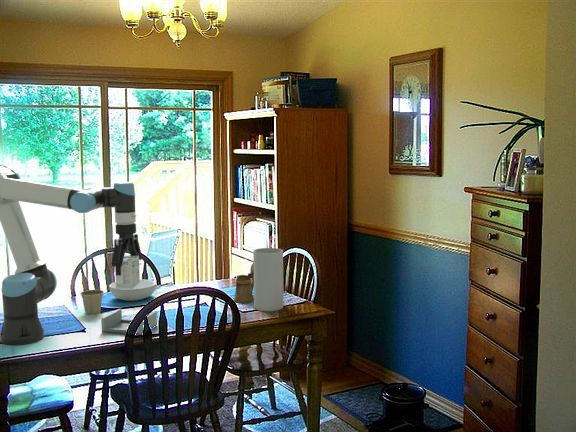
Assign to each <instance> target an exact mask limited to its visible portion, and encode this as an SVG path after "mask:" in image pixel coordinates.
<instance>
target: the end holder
mask: <svg viewBox="0 0 576 432" xmlns="http://www.w3.org/2000/svg"><path fill="white" fill-rule="evenodd" d="M122 311H123V310H122V308H118V309H115V310H114V311H112V312H110V313H107V314H106V315H104V316H102V317H101V318H100V321H101V322H100V323H101V334H112V335H122V336H123V335H124V336H126V335H125V333H126V331H127V327H128V326H129V324H130V322H131V321H132V320H133V319H129V318H127V319H125V318H123V317H122V316H123V315H122V313H123V312H122ZM148 314H149V315H148ZM148 314H147V315H148V322H149V325H150V327H151V328H153V327H154V326H156V325H157V326H158V317H157V314H158V313H157V311H151V312H150V313H148ZM143 325H144V322H143V321H142V323H141V325H140V326H139V328H138V330H137V333H136V335H142V333H143ZM157 326H156V327H157ZM153 329H154V328H153ZM142 336H143V335H142Z"/></svg>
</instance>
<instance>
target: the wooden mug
mask: <svg viewBox="0 0 576 432" xmlns="http://www.w3.org/2000/svg"><path fill="white" fill-rule="evenodd" d="M249 270H250V272H249V273H247V274H239V275H237V276H236V279H235V291H234V297H233V302H235V303H237V304H238V303H239V304H248V303H252V302H253V303H254V261H253V262H252V264H251V266H250V269H249Z"/></svg>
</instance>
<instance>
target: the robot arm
mask: <svg viewBox="0 0 576 432" xmlns="http://www.w3.org/2000/svg"><path fill="white" fill-rule="evenodd" d="M20 202H22V203H29V204H37V205H41V206H49V207H54V208H60V209H66V210H72V211H75V212H76V213H78V214H83V213H84V214H85V213H89V212H91V211H93V210H98V209H102V208H114V222H115V223H116V224H115V234H117V235H118V239H117V238H115V239H113V244H114V246H113V252H112V258H111V266H112V267H114V269H115V268H116V275H115V282H116V284H124V278H123V266H122V262H123V259H124V256H126V255H125V254H126V251H129V253H130V256H139V261H141V260H142V251H141V246H140V242H139V235H138V233H137V224H136V223H135V222H136V220H137V215H136V193H135V184H134V183H133V182H131V181H118V182H117V181H116V182H114V183H113V187H94V186H91V187H84V188H83V189H77V188H73V187H72V188H71V187H65V186H61V185H55V184H54V185H53V184H47V183H40V182H36V181H35V182H34V181H30V180H29V181H27V180H24V179H21V176H20V174H19V173H18V172H17V171H16V170H15V169H14V168H13V167H11V166H7V165H2V164H0V224H1V227H2V229H3V230H2V231H3V233H4V235H5V238H6V240H7V243H8V245H9V248H10V251H11V254H12V257H13V260H14V263H15V264H16V265H15V266H16V269H15V271H14V274H10V275H8V276H6V277H5V278H4V279H3V280H2V282H1V293H2V294H1V295H2V297H1V298H2V311H3V322H2V326H1V329H0V343H2V344H4V345H9V346H10V345H11V346H17V345H19V346H21V345H27V344H28V345H29V344H31V343H35V342H39V341H41V340H42V339H43V338H45V329H44V328H43V325H42V323H41V321H40V318H39V310H38V304H39V303H40V302H43V301H45V300H47V299H48V298H50V296H51V295H53V294H54V292H55V291H56V289H57V284H58V279H57V277H56V275H55V273H54V272H53V270H50V269H48V266H47V265H46V262H45V261H43V260H41V259H40V256H39V254H38V251H37V248H36V246H35V243H34V240H33V237H32V234H31V232H30V229H29V227H28V224H27V221H26V217H25V216H24V212H23V209H22V207H21V203H20Z"/></svg>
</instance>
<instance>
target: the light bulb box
mask: <svg viewBox="0 0 576 432" xmlns="http://www.w3.org/2000/svg"><path fill="white" fill-rule="evenodd" d="M122 266H123V278H124V284H116V289H133V288H134V287H135V286H136V285H137V284H138V283H140V279H141V277H140V276H141V275H140V273H141V272H140V260H139V256H131V255H124V259H123V262H122ZM114 269H115V271H114V273H115V276H116V268H115V267H114Z"/></svg>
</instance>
